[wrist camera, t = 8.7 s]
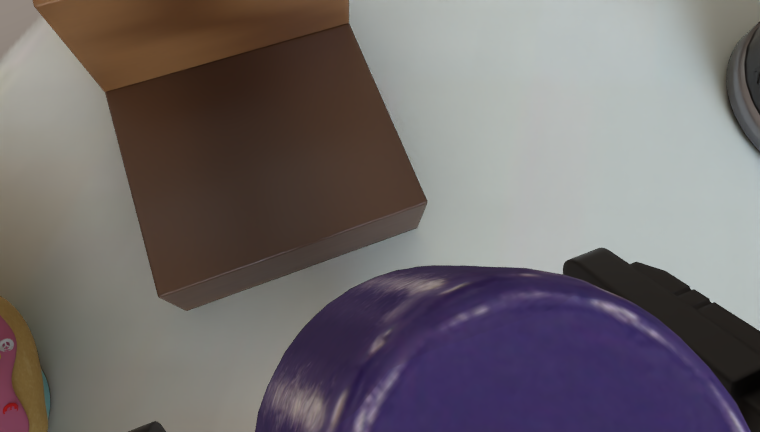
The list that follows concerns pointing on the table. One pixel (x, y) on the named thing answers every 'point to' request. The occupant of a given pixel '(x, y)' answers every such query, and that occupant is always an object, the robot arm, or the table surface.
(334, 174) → the tiered shelf
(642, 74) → the table surface
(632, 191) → the table surface
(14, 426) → the cupcake
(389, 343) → the toy lamp
